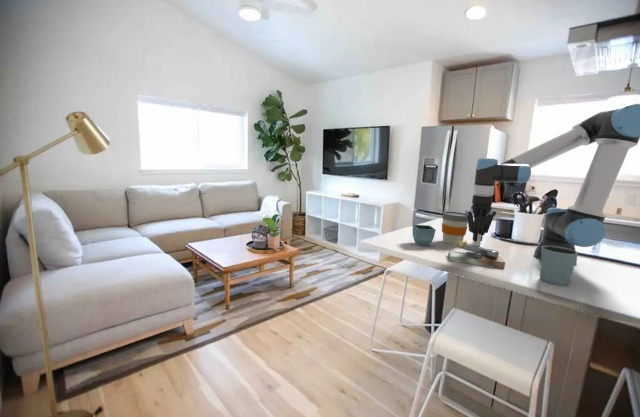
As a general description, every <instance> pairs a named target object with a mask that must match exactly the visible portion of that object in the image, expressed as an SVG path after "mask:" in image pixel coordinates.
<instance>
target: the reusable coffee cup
mask: <svg viewBox="0 0 640 417" xmlns="http://www.w3.org/2000/svg"><path fill="white" fill-rule="evenodd" d="M441 219H442V222H441V232H442V243H445V244H447V245H453V246H458V244H459V240H464V238H465V236H466V233H467V229H468V228H469V227H468V219H467V215H466V213H463V212H459V211H443V212H442V217H441Z"/></svg>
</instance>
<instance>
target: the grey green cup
mask: <svg viewBox="0 0 640 417" xmlns="http://www.w3.org/2000/svg"><path fill="white" fill-rule="evenodd" d="M578 255H579V252H578V251H574V250H572V249H568V248H564V247H558V246H542V248H541V259H540V270H539V273H540V274H539V279H540V280H541V281H542V282H544V283H546V284H551V285H554V286H559V287H568V286H569V285H570V283H571V280H572V274H573V271H574V267H575V262H576V258H577V259H578ZM576 263H577V262H576Z"/></svg>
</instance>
